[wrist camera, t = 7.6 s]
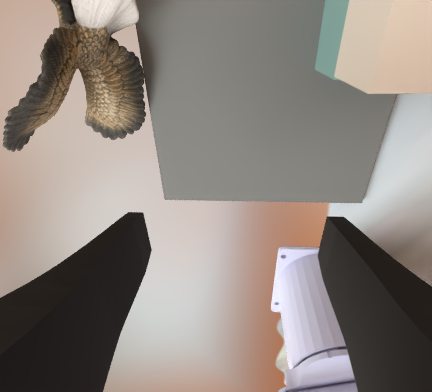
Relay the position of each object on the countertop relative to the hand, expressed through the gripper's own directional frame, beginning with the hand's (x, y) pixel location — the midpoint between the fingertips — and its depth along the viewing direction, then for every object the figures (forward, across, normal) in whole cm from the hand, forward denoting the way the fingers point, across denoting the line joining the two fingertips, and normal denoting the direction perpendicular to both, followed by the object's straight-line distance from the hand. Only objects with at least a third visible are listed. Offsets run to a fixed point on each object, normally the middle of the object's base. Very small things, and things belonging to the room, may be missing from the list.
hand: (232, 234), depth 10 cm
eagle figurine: (+11, +9, -5) cm, 15 cm away
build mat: (+10, -2, -4) cm, 11 cm away
